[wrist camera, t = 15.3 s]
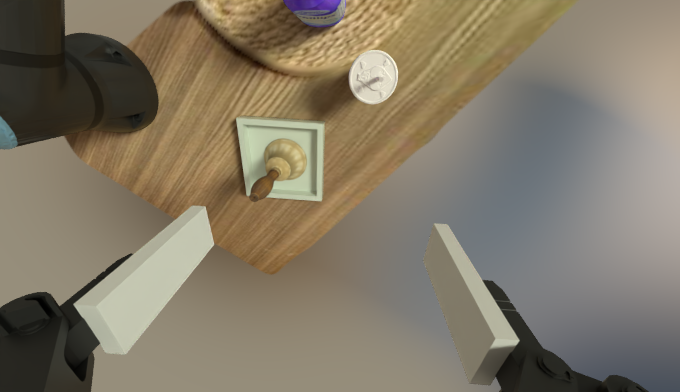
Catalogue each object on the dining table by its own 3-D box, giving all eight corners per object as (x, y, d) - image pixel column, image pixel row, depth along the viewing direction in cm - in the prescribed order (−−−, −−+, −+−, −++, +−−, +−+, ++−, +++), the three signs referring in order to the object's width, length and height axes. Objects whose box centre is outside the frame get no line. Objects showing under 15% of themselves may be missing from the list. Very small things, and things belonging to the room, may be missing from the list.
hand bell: (263, 175, 48) (225, 219, 34) (264, 134, 44) (222, 164, 30) (304, 183, 48) (284, 229, 34) (309, 142, 44) (289, 175, 30)
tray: (251, 190, 50) (246, 195, 48) (242, 115, 43) (236, 117, 41) (323, 195, 50) (321, 201, 48) (325, 121, 43) (323, 123, 41)
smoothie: (385, 99, 41) (399, 111, 28) (347, 96, 41) (345, 107, 28) (391, 55, 38) (410, 47, 25) (350, 53, 38) (350, 43, 26)
